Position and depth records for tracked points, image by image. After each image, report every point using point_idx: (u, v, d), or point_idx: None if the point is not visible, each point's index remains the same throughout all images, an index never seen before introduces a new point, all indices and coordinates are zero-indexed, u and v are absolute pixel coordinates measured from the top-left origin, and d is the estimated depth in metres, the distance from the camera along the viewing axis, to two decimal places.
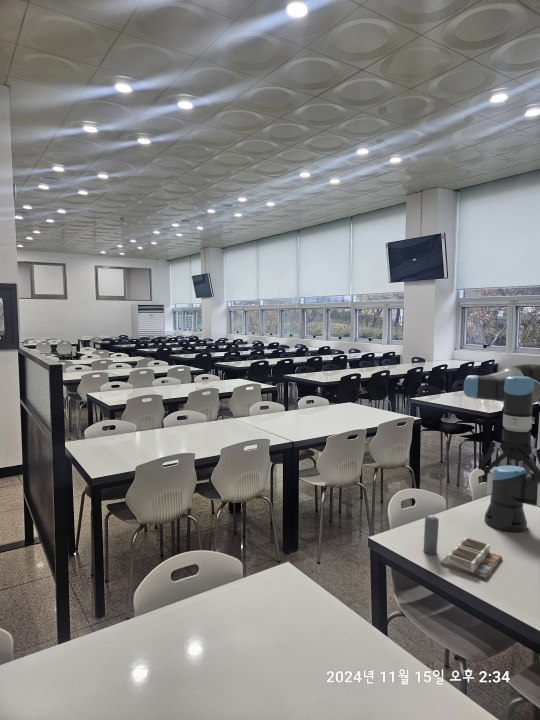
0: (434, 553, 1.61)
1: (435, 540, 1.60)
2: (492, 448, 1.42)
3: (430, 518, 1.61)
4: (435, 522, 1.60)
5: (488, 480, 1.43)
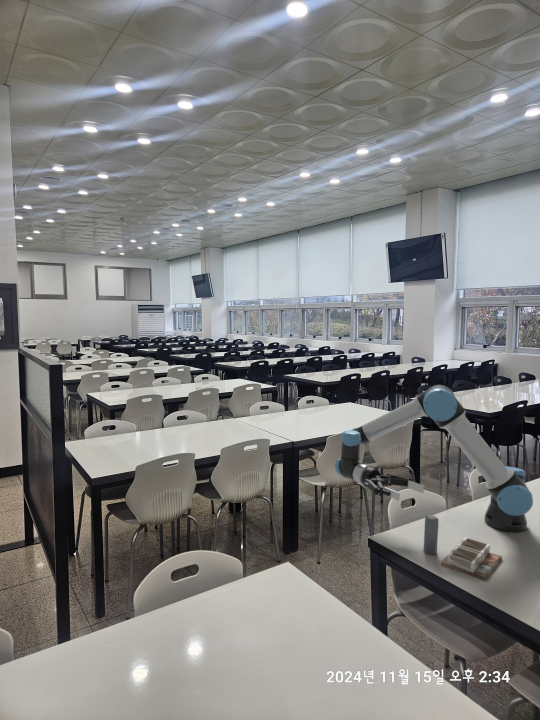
0: (434, 553, 1.61)
1: (435, 540, 1.60)
2: None
3: (430, 518, 1.61)
4: (435, 522, 1.60)
5: None
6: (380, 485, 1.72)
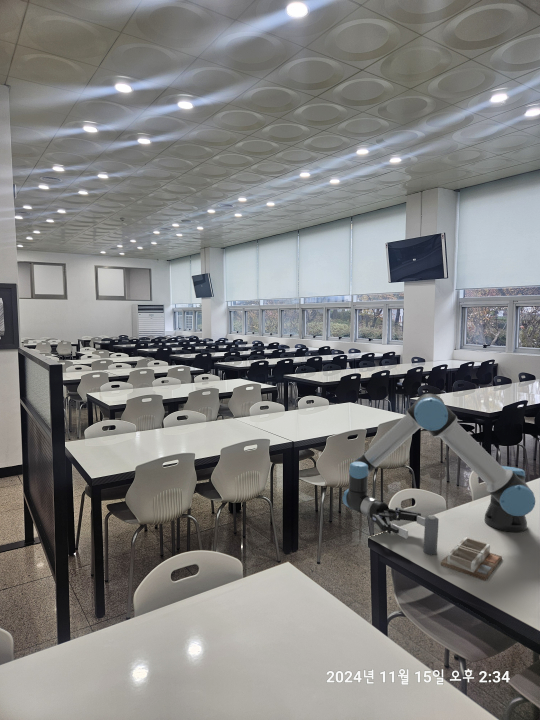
0: (434, 553, 1.61)
1: (435, 540, 1.60)
2: None
3: (430, 518, 1.61)
4: (435, 522, 1.60)
5: None
6: (388, 521, 1.69)
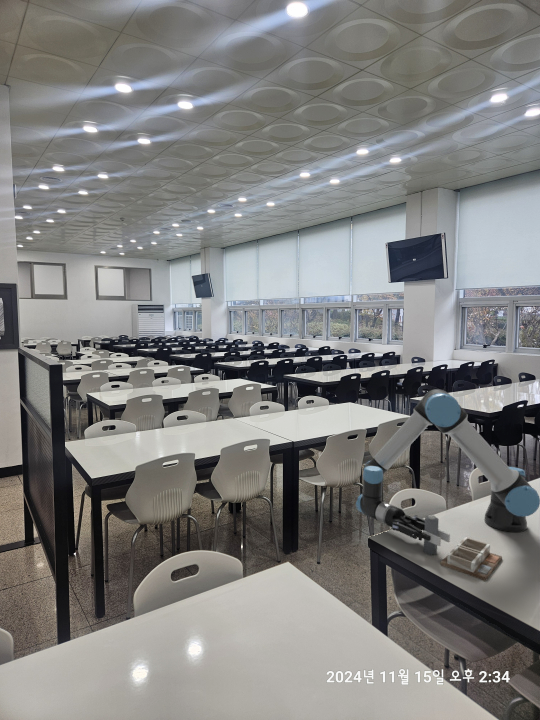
0: (434, 553, 1.61)
1: None
2: None
3: (430, 518, 1.61)
4: (435, 522, 1.60)
5: None
6: (416, 528, 1.63)
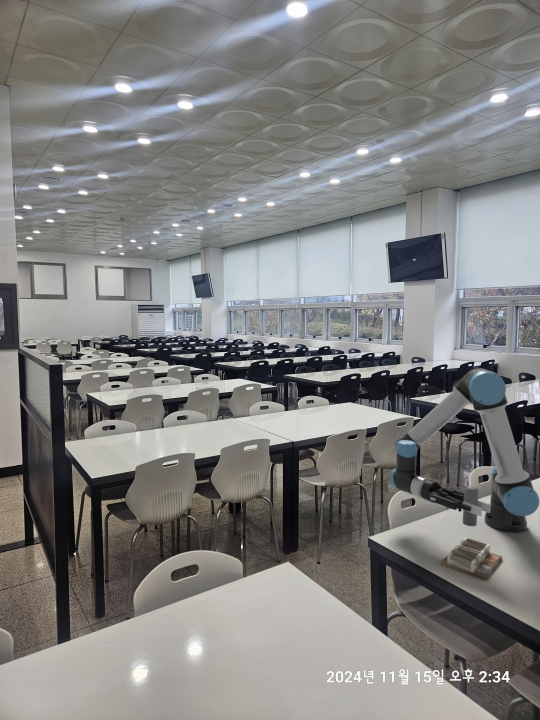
0: (474, 524, 1.58)
1: None
2: None
3: (470, 488, 1.58)
4: (475, 492, 1.57)
5: None
6: (455, 499, 1.61)
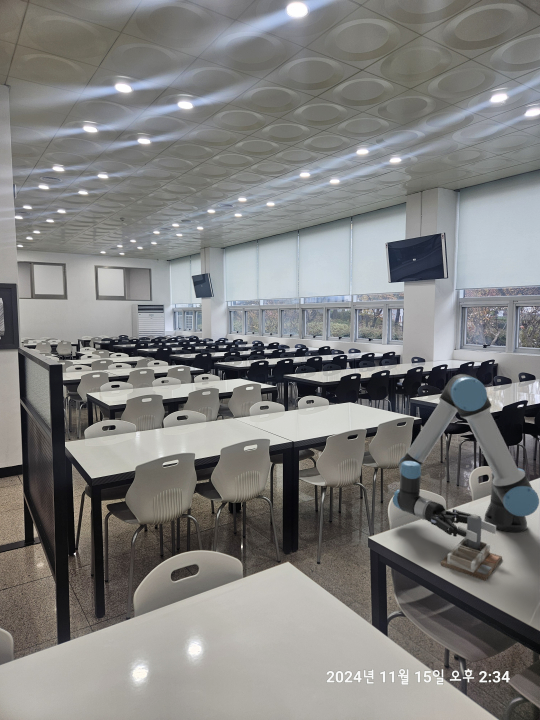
0: None
1: (478, 540, 1.58)
2: None
3: (473, 517, 1.59)
4: (478, 521, 1.58)
5: None
6: (452, 524, 1.60)
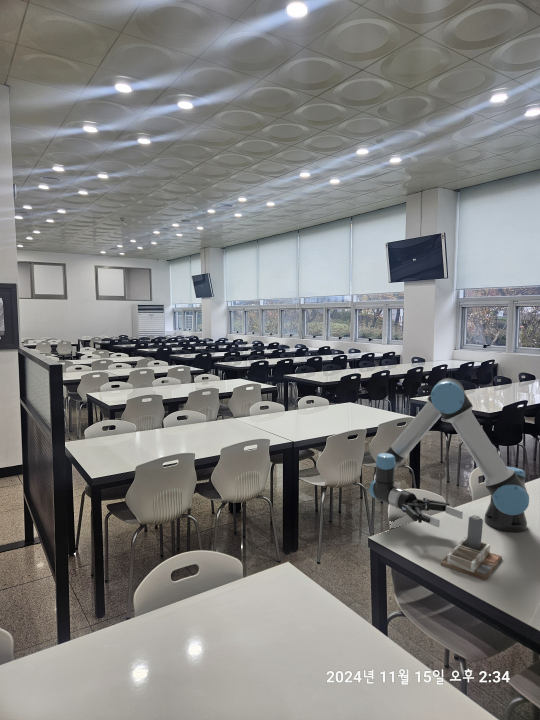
0: None
1: (479, 541, 1.58)
2: None
3: (474, 518, 1.59)
4: (479, 523, 1.57)
5: None
6: (418, 511, 1.71)
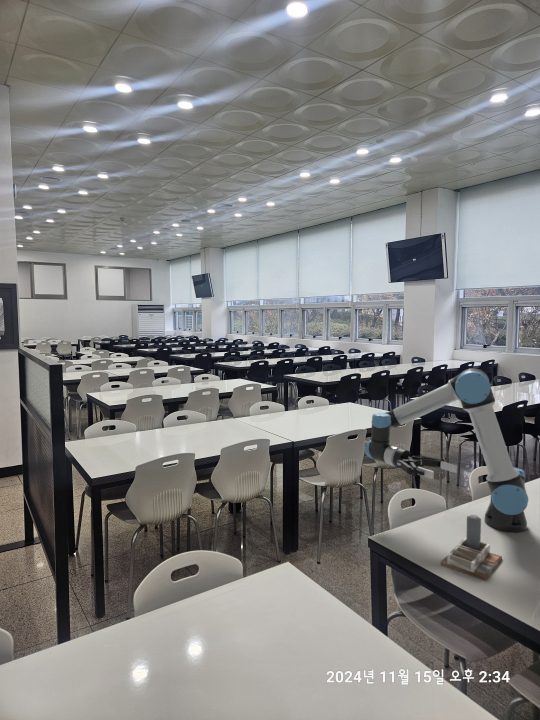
0: None
1: (478, 540, 1.58)
2: None
3: (472, 517, 1.59)
4: (477, 521, 1.58)
5: None
6: (413, 465, 1.71)
